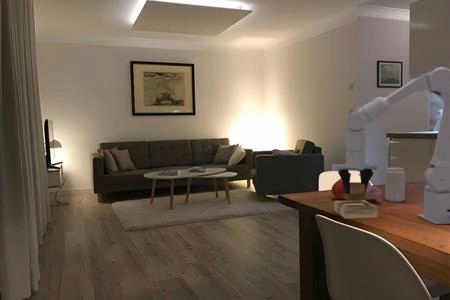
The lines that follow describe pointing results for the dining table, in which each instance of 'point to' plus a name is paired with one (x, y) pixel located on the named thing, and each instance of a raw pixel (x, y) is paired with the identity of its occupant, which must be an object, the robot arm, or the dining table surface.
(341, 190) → the onion
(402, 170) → the beverage can
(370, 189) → the lily
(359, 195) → the walnut block
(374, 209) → the beech base
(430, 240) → the dining table surface
